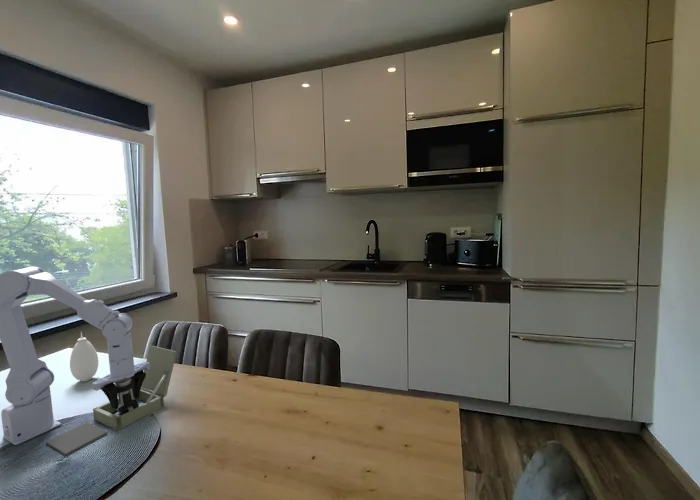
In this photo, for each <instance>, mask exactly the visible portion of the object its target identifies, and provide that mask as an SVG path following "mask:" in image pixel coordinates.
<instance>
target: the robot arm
mask: <svg viewBox="0 0 700 500" xmlns="http://www.w3.org/2000/svg"><path fill="white" fill-rule="evenodd" d="M35 295H36V296H38V295H45V296H46V295H47V296H48V297H50V298H52V299H55V301H58V302H60V303H63V304H64V305H65V306H68V307H70V308H72V309H74V310H75V311H76V313H77V317H78V318H80V319H81V320H82V321H85V322H86V323H88V324H90V325H92V326H93V327H96V328H97V329H99V330H101V334H102V336H104V338H106V342H107V344H106V345H107V352H108V353H107V354H108V363H109V373H108V374H106V375H105V376H103V377H102V378H100V379H97V380H95V381H93V382H92V383H91V384H92V390H93V391H97V392H98V391H100V390H101V391H102V392H103V393H104V395H105V396H106V397H107V399H108V402H110V404H111V407H112V408H114V409H117V408H118V388H119V387H117V386H115V382H117V381H119V380H122V379H124V378H132V379H134V380H135V382H134V387H133V388H132V391H133V396H134V398H135V399H138V398H139V394H140V389H141V386H142V383H143V381H144V379H145V377H146V373H144V370H148V369H150V363H149V362H146V361H144V362H141V363H138V364H135V363H134V362H135V361H134V351H133V340H132V333H131V332H132V331H131V329H132V328H133V324H134V321H133V318H132V317H131V316H130V315H129V314H128V313H124V312H120V311H119V310H114V309H112V308H110V307H108V305H106V304H104V303H105V301H104V300H101V299H99V300H97V299H87V298H85V297H83V296H82V295H80V294H79V293H77V292H76V291H74V290H73V289H72V288H70V287H69V286H66V284H65V283H63V282H61V281H60V280H58V279H57V278H55V276H54V275H53V274H52V273H50V272H48V271H45V270H44V269H42V268H41V267H38V266H27V267H24V268H19V269H14V270H6V271H3V272H2V273H0V342H1V346H2V348H3V351H4V353H5V356H6V357H5V358H6V360H7V363H8V365H9V366H8V367H9V372H8V374H7V377H6V379H5V384H6V390H5V393H4V394H5V395H4V396H5V399H6V401H7V402H8V403H10V404H11V405H9V406H7V407H5V408H3V409H2V410H1V413H0V414H1V417H0V418H1V424H2V430H3V431H2V432H3V435H2V438H3V439H5V440H6V441H8V442H10V443H11V444H12V445H14V446H17V445H20V444H22V443H25V442H26V441H28V440H31V439H33V438H35V437H37V436H39V435H42V434H45V433H46V432H48V431H50V430H52V429H54V428H57V427H60V426H61V425H62V424H61V422H60V421H58V420H56V419H55V418H54V412H53V403H52V394H51V388H50V387H51V385H53V383H54V380H55V375H54V372H53V371H52V370H51V369H50V368H49V367H48V366H47V363H46V362H45V361H43V360H41V359H39V357H38V355H37V354H38V353H37V352H36V348H35V345H34V343H33V338H32V337H31V333H30V330H29V327H28V324H27V321H26V318H25V315H24V311H23V309H22V303H23V302H24V301H25V300H26V299H27V298H28V297H29V296H35ZM138 400H139V399H138Z"/></svg>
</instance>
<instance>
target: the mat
mask: <svg viewBox="0 0 700 500" xmlns="http://www.w3.org/2000/svg"><path fill="white" fill-rule="evenodd" d="M105 435H108V431H106V430H104V429H103V428H100V427H98V426H96V425H94V424H92V423H91V422H87V421H86V422H85V423H83V424H80V425H78V426H77V427H74V428H73V429H70V430H68V431H66V432H63V433H61V434H60V435H57V436H55V437H53V438H51V439H49V440H46V442H45V443H46V444H47V445H48V446H50V447H52V449H55V450H56V451H58V452H60V453H61V454H63V455H64V456H68V455H69V454H72V453H73V452H76V451H77V450H79V449H81V448H83V447H85V446H88V445H89V444H90V443H92V442H94V441H97V440H98V439H101V438H102V437H104V436H105Z"/></svg>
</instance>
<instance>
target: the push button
mask: <svg viewBox="0 0 700 500" xmlns="http://www.w3.org/2000/svg"><path fill="white" fill-rule="evenodd" d="M134 382H135V380H134V379H132V378H124V379H122V380H119V381H117V382H116V383H114V384H115V386H117V387H119V388H118V398H119V403H120V404H119V407H118V408H117V410H116V411H117V412H116V413H114V414H113V415H116V416H118V417H119V416H121V415H123V414H125V413H127V412H129V411H131V410H133V409H135V408H137V407H139V406H140V405H139V399H138V400H135V398H134V396H133V391H132V388H133V387H134Z"/></svg>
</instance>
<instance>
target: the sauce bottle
mask: <svg viewBox="0 0 700 500" xmlns="http://www.w3.org/2000/svg"><path fill="white" fill-rule="evenodd" d="M69 358H70V359H69V369H70V372H71V375H72V376H73V378H75V380H77V381H80V382H82V383H83V382H84V383H85V382H88V381H90V380H92V379H93V377H94V376H96V373H97V371H98V369H99V357H98V352H97V350H96V348H95V346H94V345H93V344H92V343H91V342H90V341H89V340H88V339H87V337H84V336H83V333H82V331H80V338H78V339H77V340H76V343H75V345H74V346H73V348H72V351H71V354H70V357H69Z"/></svg>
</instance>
